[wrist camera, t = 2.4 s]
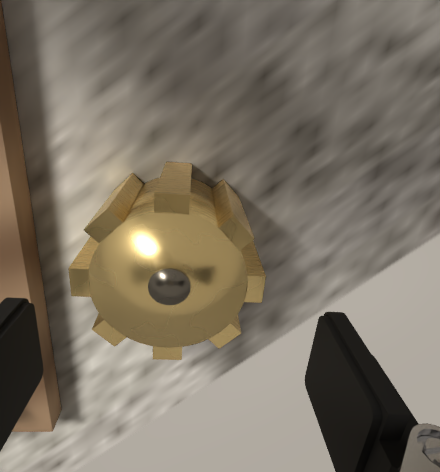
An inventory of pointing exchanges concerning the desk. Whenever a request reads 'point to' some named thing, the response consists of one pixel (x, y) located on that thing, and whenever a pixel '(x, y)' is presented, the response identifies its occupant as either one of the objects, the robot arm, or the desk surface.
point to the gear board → (22, 248)
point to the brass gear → (169, 263)
